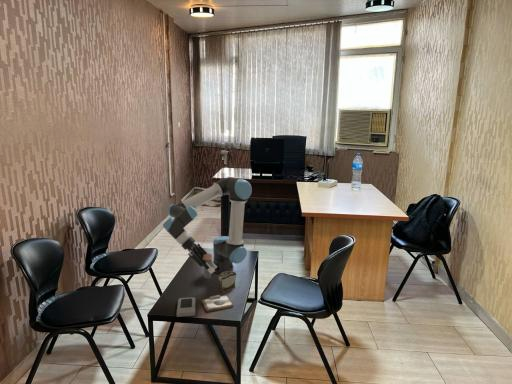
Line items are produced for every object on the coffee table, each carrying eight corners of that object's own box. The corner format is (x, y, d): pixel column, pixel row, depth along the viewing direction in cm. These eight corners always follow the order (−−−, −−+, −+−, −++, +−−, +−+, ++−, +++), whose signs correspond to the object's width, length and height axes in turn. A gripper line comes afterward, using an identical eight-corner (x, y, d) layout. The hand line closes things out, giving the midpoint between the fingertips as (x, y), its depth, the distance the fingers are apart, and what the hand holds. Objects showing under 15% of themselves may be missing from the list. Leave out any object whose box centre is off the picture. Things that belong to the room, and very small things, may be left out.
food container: (230, 283, 228) (230, 268, 226) (236, 287, 223) (236, 271, 221) (214, 290, 219) (214, 274, 217) (221, 293, 215) (220, 278, 213)
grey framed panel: (176, 311, 190) (178, 297, 205) (176, 317, 191) (178, 303, 205) (194, 309, 192) (195, 295, 206) (195, 316, 192) (195, 301, 207)
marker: (202, 275, 207) (202, 254, 204) (210, 274, 209) (210, 253, 206) (204, 279, 203) (204, 257, 200) (212, 277, 204) (212, 256, 202)
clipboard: (201, 301, 206) (201, 298, 205) (226, 296, 211) (226, 293, 211) (206, 312, 195) (206, 308, 195) (233, 306, 201) (233, 303, 200)
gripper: (186, 239, 213) (214, 268, 213) (175, 250, 196) (205, 281, 197) (195, 231, 211) (222, 260, 211) (184, 241, 194) (214, 273, 195)
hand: (214, 270), depth 204 cm, fingers closed on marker, 4 cm apart
